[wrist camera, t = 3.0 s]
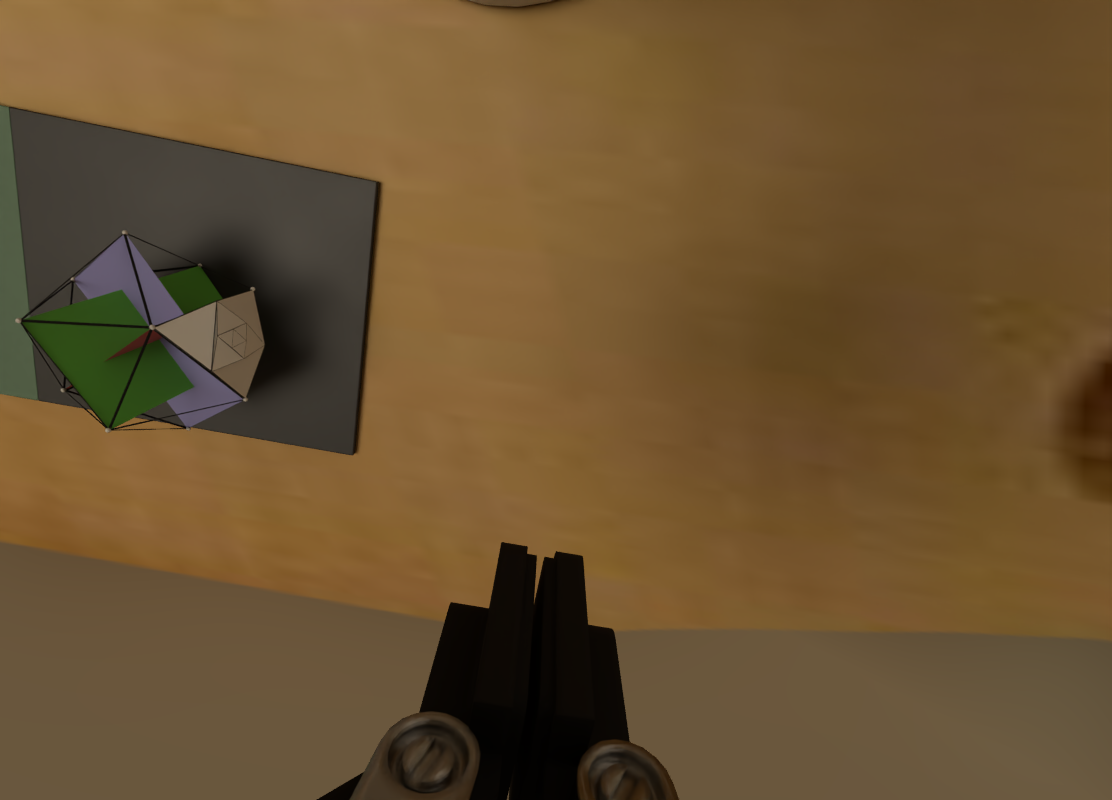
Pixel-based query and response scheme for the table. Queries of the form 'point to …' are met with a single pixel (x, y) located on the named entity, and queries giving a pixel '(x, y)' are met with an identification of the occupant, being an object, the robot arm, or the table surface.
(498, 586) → the robot arm
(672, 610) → the table surface
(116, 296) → the geometric puzzle
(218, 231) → the desk pad
